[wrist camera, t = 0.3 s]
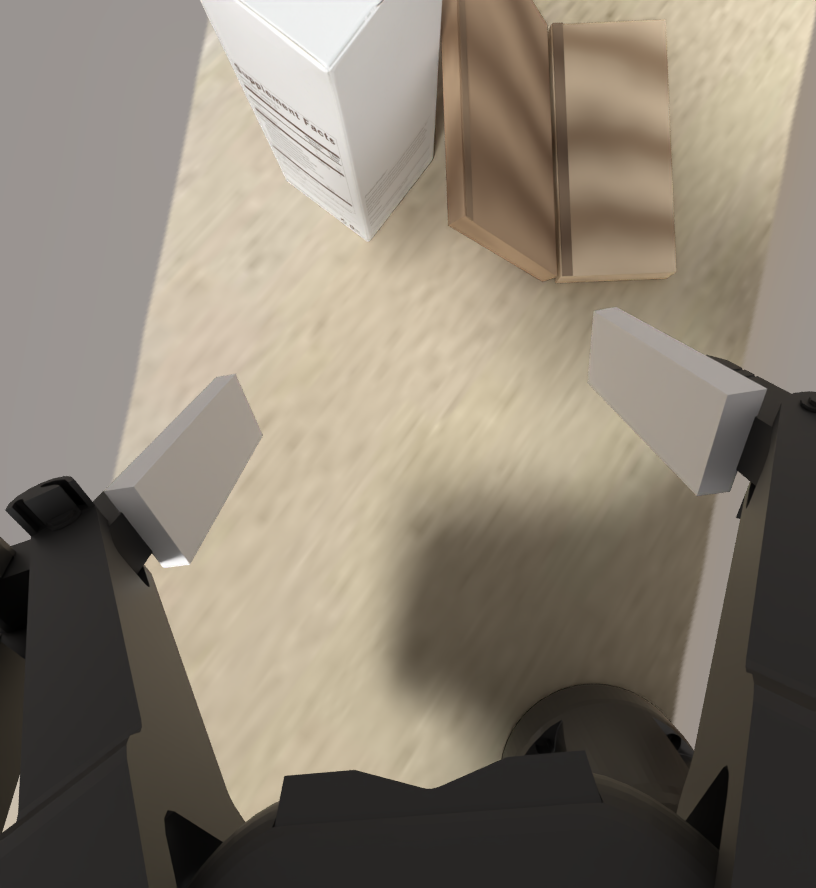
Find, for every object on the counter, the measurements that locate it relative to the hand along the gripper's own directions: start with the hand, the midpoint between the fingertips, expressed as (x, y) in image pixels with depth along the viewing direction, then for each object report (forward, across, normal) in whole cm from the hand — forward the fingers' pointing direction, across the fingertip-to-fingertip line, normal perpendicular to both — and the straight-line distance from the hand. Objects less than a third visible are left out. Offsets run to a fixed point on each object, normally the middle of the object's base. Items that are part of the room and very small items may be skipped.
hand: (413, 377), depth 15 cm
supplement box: (+26, +3, -8) cm, 27 cm away
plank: (+22, -8, -9) cm, 25 cm away
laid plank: (+26, -17, -5) cm, 31 cm away
